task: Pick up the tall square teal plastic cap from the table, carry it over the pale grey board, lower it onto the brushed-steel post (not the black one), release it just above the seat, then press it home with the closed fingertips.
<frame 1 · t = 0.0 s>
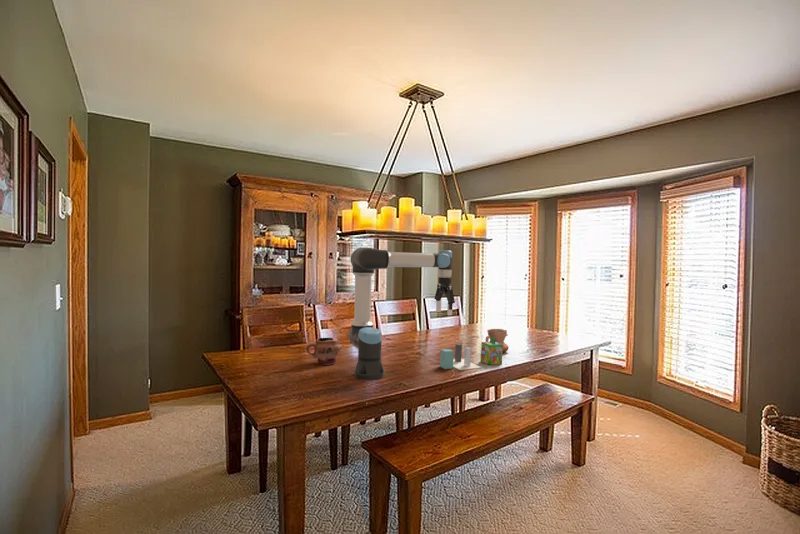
hand: (443, 313, 239), 28 cm above the table, fingers open, 13 cm apart
steel post: (467, 366, 230), resting on board
black post: (458, 362, 239), resting on board
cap: (446, 367, 227), on the table
ceramic jug: (496, 352, 267), on the table
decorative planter: (323, 363, 229), on the table
chalk box: (491, 363, 239), on the table
board: (461, 364, 234), on the table
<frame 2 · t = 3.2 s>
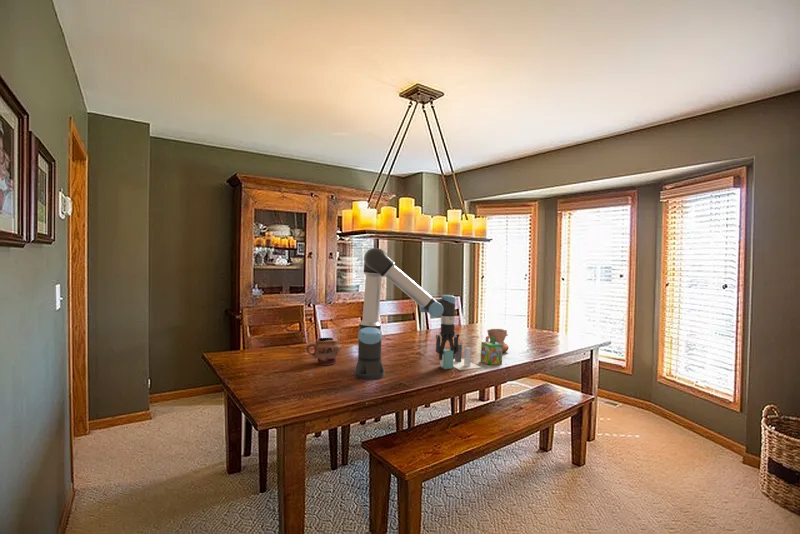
hand: (446, 365, 227), 1 cm above the table, fingers closed on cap, 5 cm apart
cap: (446, 367, 227), on the table, touching gripper
everything else where it was.
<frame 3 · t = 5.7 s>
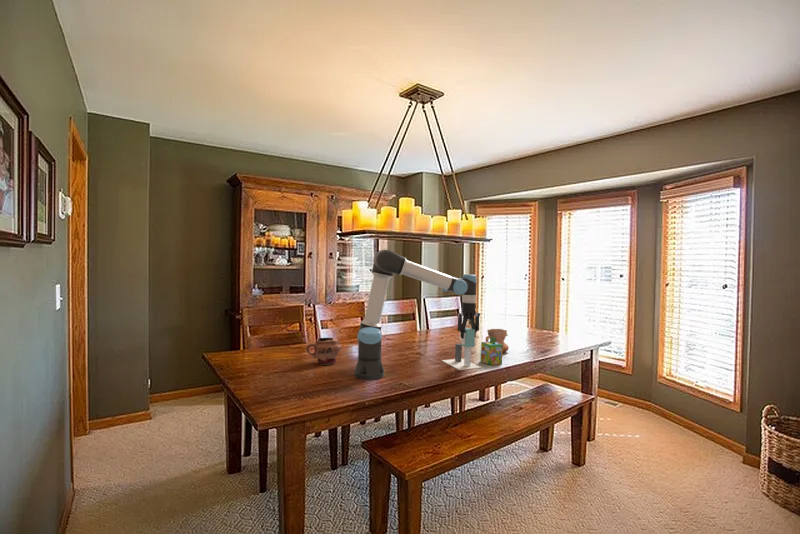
hand: (467, 343, 229), 13 cm above the table, fingers closed on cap, 5 cm apart
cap: (467, 346, 229), point 12 cm above the table, touching gripper
everything else where it was.
when the fingers open (4 cm above the table, at t = 8.1 s): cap stays where it is, resting on steel post.
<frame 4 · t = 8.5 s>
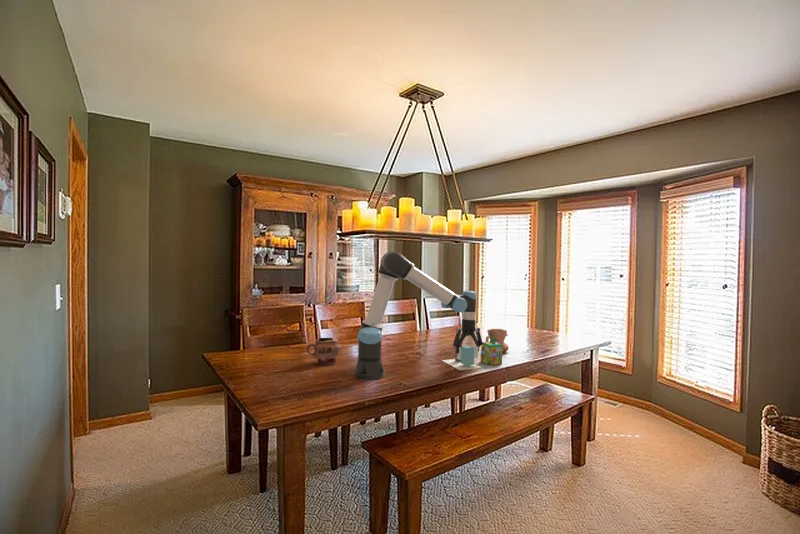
hand: (467, 358, 229), 5 cm above the table, fingers open, 10 cm apart
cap: (467, 364, 229), point 1 cm above the table, touching steel post
everything else where it was.
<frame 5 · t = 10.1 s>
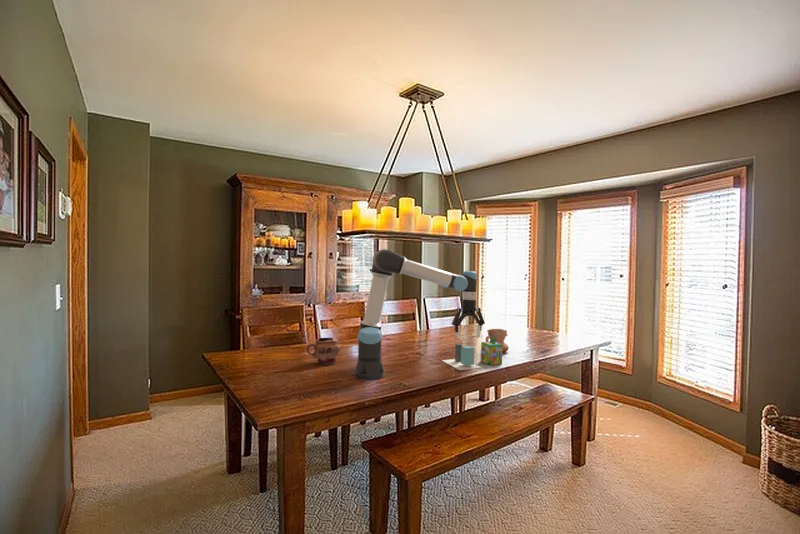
hand: (468, 337, 229), 16 cm above the table, fingers open, 12 cm apart
nothing on the table moved.
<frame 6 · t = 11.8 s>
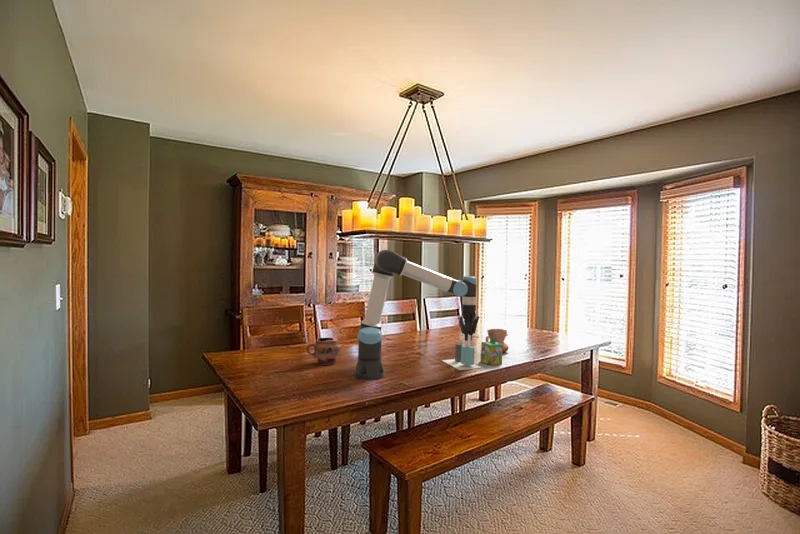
hand: (467, 346, 229), 11 cm above the table, fingers closed
nothing on the table moved.
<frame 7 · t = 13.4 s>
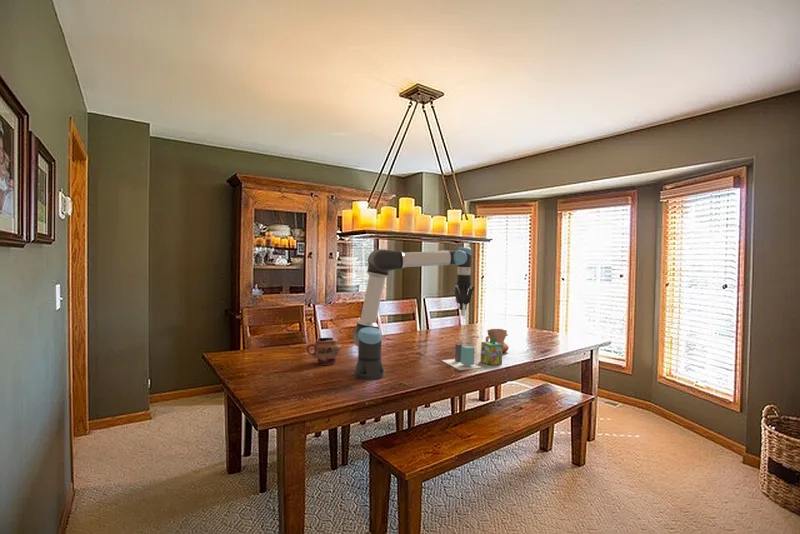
hand: (462, 315, 236), 28 cm above the table, fingers closed
nothing on the table moved.
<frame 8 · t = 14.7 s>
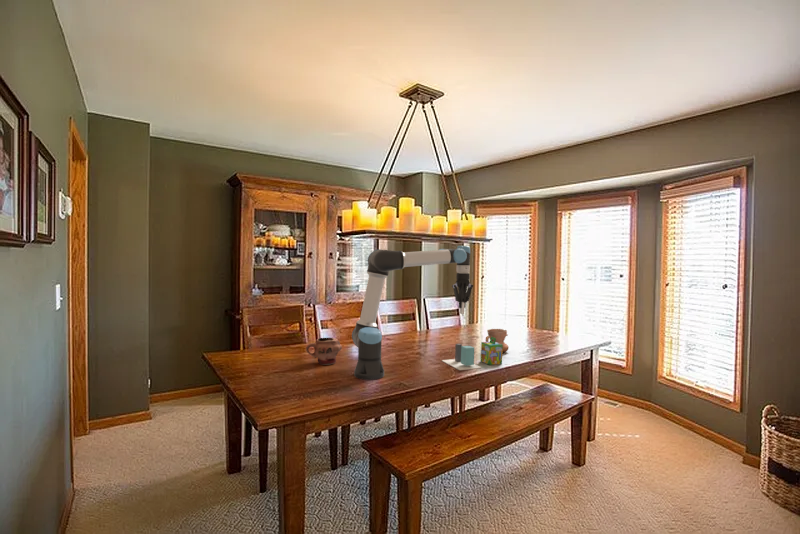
hand: (461, 313, 237), 28 cm above the table, fingers closed
nothing on the table moved.
at the end: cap 0.0 cm from the steel post (horizontally); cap point 1.5 cm above the table; the gripper is holding nothing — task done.
